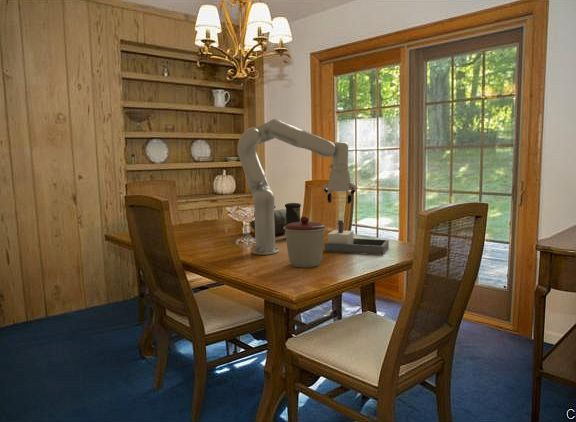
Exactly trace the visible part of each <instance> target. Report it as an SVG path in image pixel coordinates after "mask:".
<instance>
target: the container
mask: <svg viewBox="0 0 576 422" xmlns="http://www.w3.org/2000/svg"><path fill="white" fill-rule="evenodd" d="M284 207H285V210H286V225H287V224H289V223H294V222H301V207H302V205H301V203H299V202H288V203H285V205H284Z"/></svg>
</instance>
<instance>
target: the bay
mask: <svg viewBox="0 0 576 422" xmlns="http://www.w3.org/2000/svg"><path fill="white" fill-rule="evenodd" d="M389 246H390V240H389V239H378V238H377V239H376V238H375V239H374V238H373V239H371V238H355V237H353V244H339V243H328V242H325V243H324V252H327V253H328V252H329V253H330V252H331V253H343V252H351V253H350V254H359V253H367V254H366V255H374V254H382V255H381V256H384V255H383V254H386V252H387V251H388V250H389V248H390V247H389ZM387 249H388V250H387ZM386 250H387V251H386ZM385 251H386V252H385Z"/></svg>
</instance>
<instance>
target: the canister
mask: <svg viewBox="0 0 576 422" xmlns="http://www.w3.org/2000/svg"><path fill="white" fill-rule="evenodd" d="M300 219H301V222H294V223H289V224H287V225H286V226H285V227H283V228H284V230H285V232H284V233H285V239H286V247H287V253H288V254H287V255H288V260H289V263H290V264H291V266H293V267H295V268H304V269H307V268H309V269H310V268H313V267H314V268H315V267H317V266H319V265H320V264H321V262H322V259H323V253H324V252H323V251H324V244H325V243H324V242H325V230H326V229H327V226H326V225H324V224H323V223H322V222H318V221H317V222H316V221H310V219H309V217H308V215H307V216H306V215H303V216H300Z"/></svg>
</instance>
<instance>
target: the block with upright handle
mask: <svg viewBox="0 0 576 422" xmlns="http://www.w3.org/2000/svg"><path fill="white" fill-rule="evenodd" d="M337 222H338V223H337V225H338V226H337V227H338V228H337V229H333V230H332V231H330V232H329V233H327V243H339V244H353V238H354V230H344V220H343V219H338V221H337Z"/></svg>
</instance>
